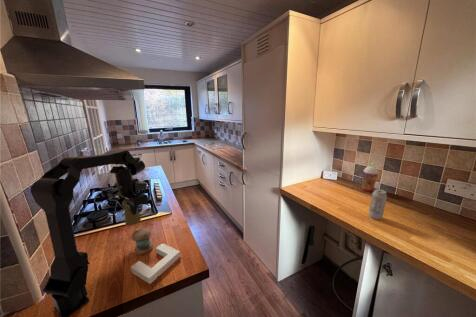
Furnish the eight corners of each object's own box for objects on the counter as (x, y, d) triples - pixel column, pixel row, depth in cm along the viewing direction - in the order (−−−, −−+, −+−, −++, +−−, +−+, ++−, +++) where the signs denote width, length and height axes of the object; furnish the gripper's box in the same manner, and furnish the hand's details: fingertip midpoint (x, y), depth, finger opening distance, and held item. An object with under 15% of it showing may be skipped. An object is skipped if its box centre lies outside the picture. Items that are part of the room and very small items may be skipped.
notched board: (150, 284, 65) (149, 278, 65) (131, 272, 70) (130, 267, 69) (180, 256, 77) (179, 251, 76) (163, 248, 82) (162, 243, 81)
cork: (137, 215, 89) (132, 194, 85) (143, 220, 85) (139, 197, 82) (123, 222, 84) (117, 199, 81) (129, 227, 80) (123, 203, 77)
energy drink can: (384, 219, 100) (390, 192, 96) (376, 221, 98) (381, 194, 94) (373, 213, 105) (379, 188, 101) (365, 215, 104) (370, 189, 100)
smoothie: (357, 188, 136) (361, 161, 131) (366, 186, 138) (371, 160, 133) (368, 193, 128) (373, 164, 123) (377, 191, 131) (383, 163, 125)
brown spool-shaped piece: (141, 257, 77) (139, 241, 75) (131, 250, 80) (128, 235, 78) (156, 246, 83) (154, 231, 81) (145, 240, 86) (143, 226, 84)
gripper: (156, 177, 81) (161, 209, 86) (129, 170, 90) (135, 200, 94) (131, 187, 72) (138, 223, 76) (103, 178, 80) (111, 211, 85)
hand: (131, 213), depth 83 cm, fingers closed on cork, 4 cm apart
